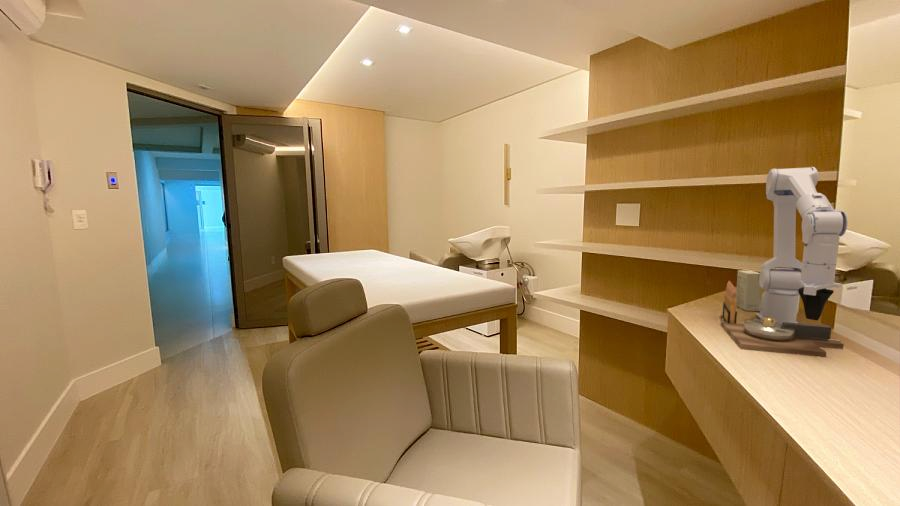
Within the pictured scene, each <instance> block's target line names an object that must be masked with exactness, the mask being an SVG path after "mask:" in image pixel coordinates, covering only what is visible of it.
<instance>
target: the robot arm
mask: <svg viewBox="0 0 900 506" xmlns="http://www.w3.org/2000/svg"><path fill="white" fill-rule="evenodd" d="M765 181H766V184H765V194H766V195H765V196H766V200H770V201H771V202H772V204H773V253H772V254H773V256H772V258H770V259H768V260H767V261H764V262H763V263H762V264H761V266H760V272H759V273H760V276H759V283H760V287H761V290H764V292H763V293H761V303H760V311H759V313H755V316H756V317H758V318H759V320H763V317H772V318H775V319H776V320H775V322H779V323H782V322H788V323H799V321H797V306H798V297H799V295H800V299H801V300H802V303H803V310H804V315H805V319H806V320H811V321H819V320H820V318H821V316H822V313H823V311H824V308H825V305H826V304H827V302H828V300H829V299H830V297H831V296H832V295H833V294H834V289H832V288H842V283H840V282H835V279H836V278H835V277H836V269H837V262H838V253H839V244H840V237H843V236H844V235H845V233H846V232H847V229H848V216H847V214H846V211H845V210H840V209H835V208H834V207H833V206H832V204H831V202H830V201H829V199H828V197H827V196H826V195H825V194H823V193H821V192H818V191H817V188H816V186H817V185H818V182H819V171H818V169H817V168H816V167H815V166H809V167H795V168H793V167H792V168H791V167H790V168H772V169H770V170H769V171H768V173H767V175H766V180H765ZM797 212H798V213H799V215H800V217H801V219H802V221H801V232H802V236H801V237H802V238H801V239H802V240H801V241H802V243H804V245H803V251H802V252H803V253H802V262H801V261H800V260H798V259H797V258H796V241H797V240H796V233H797V232H796V231H797V230H796V228H797V226H796V223H797V221H796V220H797V218H796V217H797ZM775 268H789V269H794V270H781V269H775Z"/></svg>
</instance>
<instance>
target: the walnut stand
mask: <svg viewBox="0 0 900 506" xmlns="http://www.w3.org/2000/svg"><path fill="white" fill-rule="evenodd" d="M720 326H721V327H722V328H723V329H724V331H725V332H726V333H727V334H728V336H729V337H731V338H732V340H733V341H734V342H735V343H736V345H737V346H738V347H739V349H741V350H751V351H761V352H762V351H763V352H770V353H771V352H772V353H781V354H790V355H798V354H799V356H800V355H801V356H809V357H818V356H819V358H820V357H821V358H827V351H825V350H824V349H823V348H827V349H829V348H830V349H838V350H839V349H840V350H844V345H845V344H844V343H843V342H841V341H842V340H840V339H836V338H832V337H830V339H820V338H808V337H797V336H794V339H792V340H771V339H765V338H761V337H757V336H753V335H751V334H748V333H746V332H745V331H744V322H737V321H736V324H735V323H728V322H725V321H721V322H720Z"/></svg>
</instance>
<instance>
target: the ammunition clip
mask: <svg viewBox="0 0 900 506" xmlns="http://www.w3.org/2000/svg"><path fill="white" fill-rule="evenodd" d="M736 291H737V287H735V286H734V285H733V283H732V282H731V280H728V282H727V284H726V288H725V293H724V298H723V299H724V300H723V306H722V319H723V320H724V322H728V323H735V324H736V322H737V319H738V318H737V317H738V315H737V314H738V312H737V308H738V307H737V301H736Z"/></svg>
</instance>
